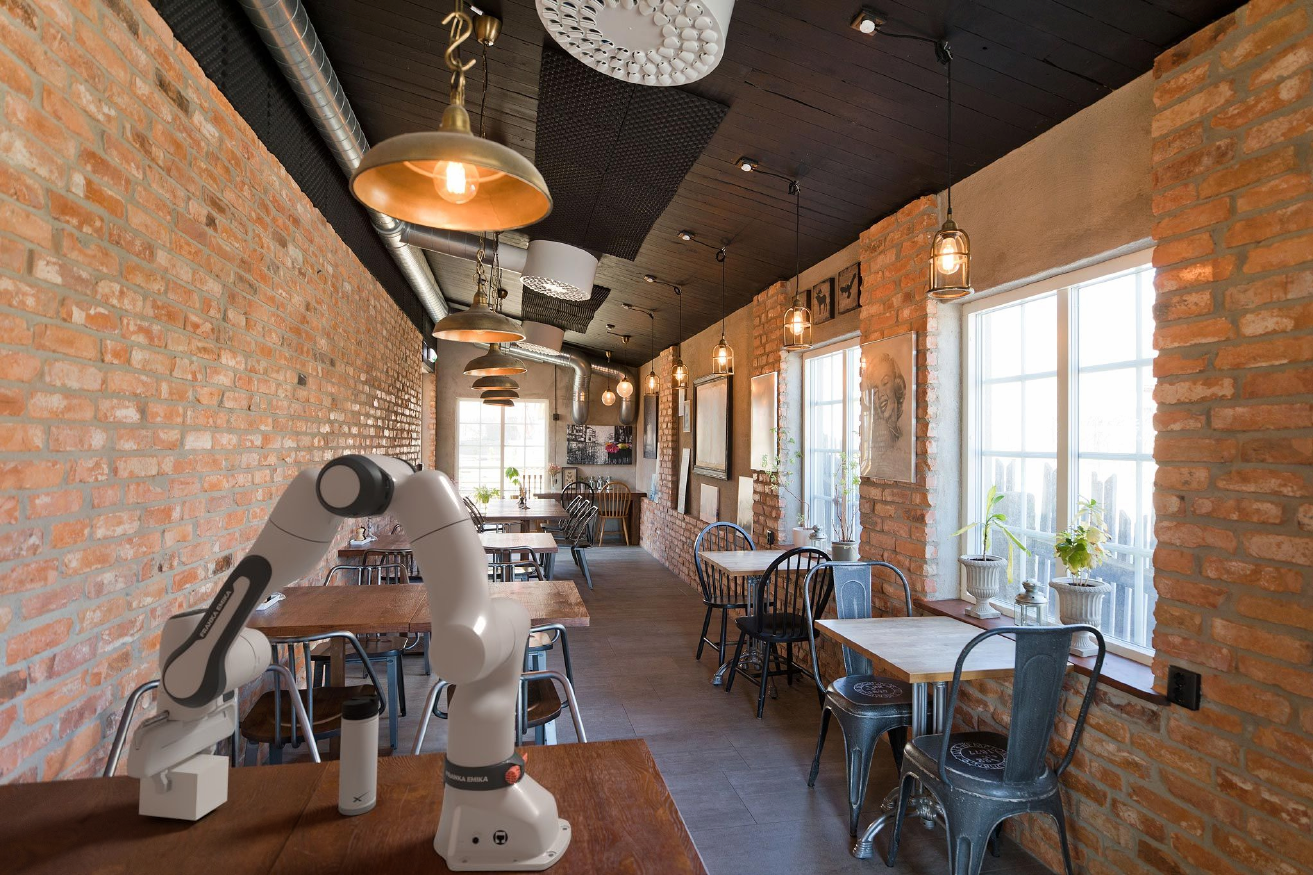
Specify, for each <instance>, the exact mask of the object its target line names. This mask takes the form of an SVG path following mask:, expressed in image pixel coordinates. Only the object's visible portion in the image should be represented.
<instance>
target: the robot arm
mask: <svg viewBox="0 0 1313 875" xmlns="http://www.w3.org/2000/svg"><path fill="white" fill-rule="evenodd" d="M289 483H290V484H288V486H287V487H286V489H285V490H284V491H283V492H282V495H281V496H280V497H279V498H278V501H277V502H276V504H275V506H274V507H273V509H272V511H271V513H270V515H269V516H268V519H267V520H266V522H265V524H264V526H263V528H262V530H261V531H260V533H259V535H258V537H256V539H255V540H254V542H253V544H252V546H250V548H249V550H248V551H247V553H245V555H244V556H243V558H241V560H240V562H238V564H237V565H236V566H235V568H234V569H233V570H232V572H231V573H230V574H229V575H228V577H227V578H226V580H225V581H224V583H223V584H222V586H221V588H220V589H219V591H218V592H217V594H216V595H215V597H214V598H213V600H212V601H211V603H210V605H209V606H208V608H206V607H203V608H198V609H192V610H189V611H184V612H179V613H177V614H174V615H172V616H170V617H169V618H168V619H167V620H166V621H165V623H164V625H163V628H162V630H161V635H160V641H159V652H158V668H159V670H160V679H159V682H158V685H157V689H156V690H157V691H156V693H157V694H156V711H155V714H154V715H153V716H151V717H147V718H144V719H143V720H141V722H140V724H138V725H137V727H136V729H134V730H133V734H132V738H131V740H130V744H129V748H128V754H127V760H126V769H125V770H126V774H127V775H128V776H129V777H130V778H135V779H141V778H148V777H151V779H152V780H153V781H154V783H155V784H156V785H155V792H156V794H165V793H166V792H168V791H170V790H171V785H172V780H167V779H166V777H165V775H164V774H167V772H168V767H170V766H172V765H174V764H176V763H178V762H180V761H182V760H184V759H185V758H187V757H189V756H191V755H193V754H198V753H199V752H201V753H200V754H205V755H215V751H216V749H217V743H219V742H220V741H222V740H225V739H227V738H228V737H230V736H232V735H233V734H234V732H235V730H236V728H237V723H238V719H237V718H238V703H237V700H236V698H237V697H238V696H239V695H238V694H239V689H238V688H241V687H242V686H243V685H245V684H248V683H249V682H252V681H254V680H255V679H257V678H258V677H260V676H262V675H263V674H264V673H266V671H267V670H268V669H269V667H270V665H271V663H272V659H273V648H272V645H271V644H272V643H271V641H270V640H269V638H268V636H267V635H266V634H265V633H264V632H263V631H261V630H259V629H258V628H253V627H246V626H247V624H248V622H249V621H250V619H252V618H251V617H252V616H253V615H254V613H255V612H256V610H257V609H258V608H259V607H260V606H261V605H262V603H264V602H265V601H266V600H268V598H270V597H271V596H272V595H274V594H275V593H277V592H278V591H280V590H282V589H283V588H285V587H287V586H289V585H291V584H292V583H294V582H296V581H298V580H299V579H301V578H303V577H305V576H307V575H308V574H310V573H311V572H312V571H313V570H314V569H315V568H316V567H317V565H319V563H320V562H321V561H322V559H324V557H325V556H326V555H327V552H328V550H329V549H330V547H331V544H332V543H333V540H334V539H335V536H336V534H337V533H338V531H339V530H340V529H339V528H340V526H341V525H342V523H343V521H344V520H346V518H347V519H360V518H361V519H362V518H369V519H370V518H371V519H374V518H382V517H386V516H387V517H388V516H392V517H393V518H395V519H396V520H397V521H398V522H399V524H400V526H401V528H402V530H403V533H404V535H405V537H406V541H407V543H408V544H409V549H410V550H411V552H412V555H413V558H414V560H415V563H416V565H417V568H418V570H419V573H420V576H421V578H422V581H423V584H424V588H425V592H426V597H427V600H428V602H427V603H428V607H429V608H428V609H429V615H430V616H429V617H430V626H431V637H430V640H429V641H430V642H429V645H428V650H427V654H428V655H427V657H428V663H429V666H430V667H431V669H432V671H433V673H434V675H436V676H437V677H438V678H439V679H440V680H441V681H443V682H445V683H447V684H451V685H454V686H455V685H456V686H455V689H454V693H453V694H452V698H451V699H450V702H449V706H448V709H447V729H446V731H447V732H446V733H447V734H446V753H445V754H444V757H443V766H442V787H443V789H444V791H443V792H444V793H443V799H442V800H443V801H442V807H441V812H440V818H439V823H438V825H437V826H438V827H437V831H436V834H435V836H434V840H433V848H434V850H435V851H436V853H437V854H438V855H439V856H440V857H442V858H443V859H444V860H445V861H446V865H447V867H448V869H449V870H450V871H454V872H460V871H461V872H463V871H464V872H465V871H468V872H469V871H470V872H471V871H472V872H474V871H475V872H476V871H479V872H480V871H481V872H482V871H483V872H486V871H491V872H493V871H497V872H498V871H543V870H547V869H549V868H550V867H552V866H553V865H554V864H556V863H557V862H558V861H559V860H560V859H561V858H562V857H563V855H564V854H565V852H566V851H567V849H568V847H569V845H570V842H571V838H572V828H571V824H570V822H569V821H568V820H566V819H563V818H561V817H559V814H558V806H557V803H556V799H555V796H554V795H553V794H552V793H551V792H550V791H548V789H546V788H544V787H543V786H542V785H540V784H539V783H538V782H537V781H536V780H535V779H533V778H532V777H531V776H529V775H528V773H526V772H525V770H526V769H525V768H526V763H527V761H528V752H526V753H524V755H523V756H521V754H520V753H519V752H518V751H517V749H516V748H515V732H516V709H517V707H516V705H517V698H518V691H519V686H520V681H521V677H522V671H523V666H524V659H525V652H526V646H527V642H528V638H529V635H530V632H531V627H532V621H531V616H530V615H531V614H530V613H529V611H528V610H527V607H525V605H524V604H523V603H522V602H520V601H519V600H517V599H515V598H512V597H505V596H502V597H501V596H500V597H499V596H498V597H492V595H491V590H490V583H489V557H488V556H487V553H486V550H485V548H484V545H483V544H482V543H483V542H482V541H481V538H480V536H479V533H478V531H477V528H476V525H475V524H474V521H473V519H472V517H471V516H472V515H471V514H470V512H469V510H468V508H467V505H466V504H465V501H464V500H463V497H462V496H461V494H460V493H459V490H458V488H456V486H455V484H454V483H453V482H452V480H451V479H450V477H449V476H448V475H447V474H446V473H444V472H443V471H441V470H438V469H423V470H418V468H417V467H416V466H415V465H414V464H412V463H411V462H410V461H408V460H407V459H404V458H402V457H397V456H387V455H384V454H383V455H382V454H380V453H361V454H360V453H359V454H357V453H348V454H343V455H340V456H337V457H335V458H333V459H331V460H330V461H328V462H327V463H325V465H324V466H322V467H317V466H315V467H314V466H313V467H308V468H305V469H302V470H301V471H300V472H298V473H297V475H295V477H294V478H293V479H292V480H291V482H289Z"/></svg>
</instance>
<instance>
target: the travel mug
mask: <svg viewBox="0 0 1313 875" xmlns="http://www.w3.org/2000/svg"><path fill="white" fill-rule="evenodd" d="M380 701H381V695H379V694H377V693H366V694H361V695H356V696H352V697H350V698H349V699H348V700H345V701H343V702H342V703H341V704H342V705H341V706H342V707H341V711H342V712H341V721H340V722H341V724H340V747H339V748H340V752H339V753H340V754H339V756H340V757H339V780H338V782H339V783H338V811H339V813H340V814H342V815H345V816H358V815H359V816H360V815H363V814H365V813H368V812H370V811H371V810H373V809H374V808H375V807H376V805H377V803H376V802H377V785H378V784H377V779H378V778H377V777H378V748H379V719H380V718H379V716H380V713H379V710H380V709H379V706H380Z"/></svg>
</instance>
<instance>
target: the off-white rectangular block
mask: <svg viewBox="0 0 1313 875" xmlns="http://www.w3.org/2000/svg"><path fill="white" fill-rule="evenodd" d="M229 759H230V756H226V755H225V756H224V755H215V754H213V755H205V754H201V753H195V754H193V755H191V756H189V757H187V758H185V759H184V760H182V761H180V762H178V763H176V764H174V765H172V766H170V767H168V772H167V774H164V775H165V777H166V779H167V780H172V785H171V790H170V791H168V792H166V793H165V794H156V792H155V785H156V784H155V783H154V781H153V780H152V779H151V777H148V778H139V779H140V780H139V781H140V784H139V806H138V807H139V808H138V815H141V816H150V817H160V818H169V819H181V820H189V821H197V820H199V819H200V818H202V817H204V816H205V815H207V814H208V813H210V812H211V811H214V810H215V809H216V808H217V807H219V806H221V805H222V804H224V803H226V802H227V801H228V789H229V787H228V784H229V781H228V780H229Z"/></svg>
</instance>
